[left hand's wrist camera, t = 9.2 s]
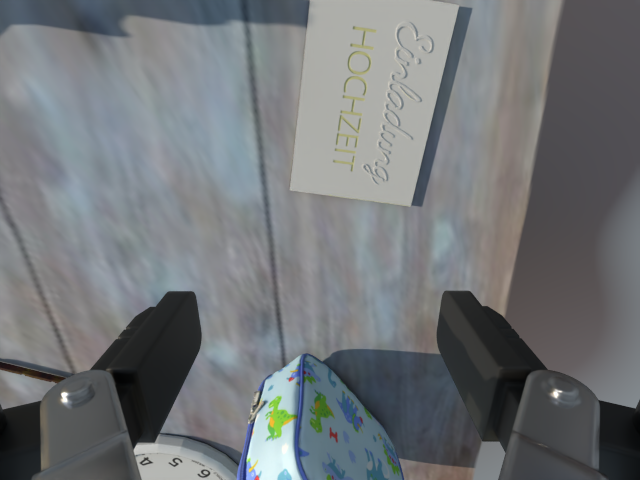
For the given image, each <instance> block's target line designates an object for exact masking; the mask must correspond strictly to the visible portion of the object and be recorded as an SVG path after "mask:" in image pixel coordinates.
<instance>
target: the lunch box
mask: <svg viewBox="0 0 640 480" xmlns="http://www.w3.org/2000/svg"><path fill="white" fill-rule="evenodd" d="M250 413H251V415H250V416H249V418H248V420H249V422H248V423H249V424H248V429H247V434H246V440H245V445H244V450H243V453H242V457H241V460H240V464H239V467H238V473H237V480H404V477H403V473H402V469H401V465H400V462H399V459H398V456H397V454H396V451H395V449H394V446H393V444H392V442H391V440H390V438H389V437H388V435H387V433H386V431H385V429H384V428H383V426H382V425H381V424H380V423H379V422H378V421H377V420H376V419H375V418H374V417H373V416H372V415H371V414H370V413H369V411H368V410H367V409H366V408H365V407H364V406H363V405H362V404H361V403H360V401H359V400H358V399H357V398H356V396H355V395H354V394H353V393H352V392H351V391H350V390H349V389H348V388H347V387H346V385H345V384H344V383H343V382H342V381H341V380H340V379H339V377H338V376H337V375H336V374H335V373H334V372H333V371H332V370H331V369H330V368H329V367H328V366H327V365H325V364H324V363H323V362H322V361H320V360H319V359H317V358H316V357H314V356H312V355H310V354H302V355H300V356H298V357H297V358H296V359H295V360H293V361H292V362H291V363H289V364H288V365H286V366H285V367H284V368H283V369H281V370H279V371H277V372H275V373H274V374H273V375H269V376H268V377H267V378H266V379H265V380H264V381H263V382H262V383H261V385H260V386H259V389H258V391H256V392H254V396H253V400H252V407H251V412H250Z"/></svg>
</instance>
